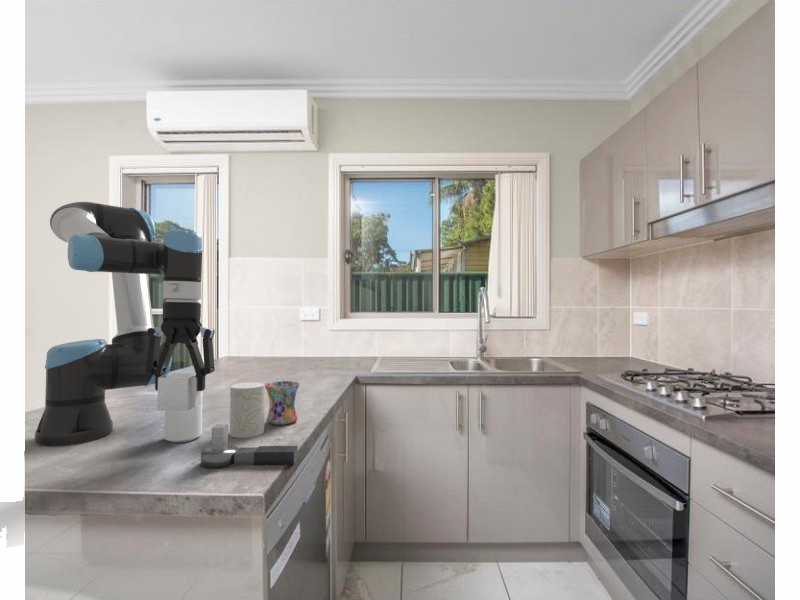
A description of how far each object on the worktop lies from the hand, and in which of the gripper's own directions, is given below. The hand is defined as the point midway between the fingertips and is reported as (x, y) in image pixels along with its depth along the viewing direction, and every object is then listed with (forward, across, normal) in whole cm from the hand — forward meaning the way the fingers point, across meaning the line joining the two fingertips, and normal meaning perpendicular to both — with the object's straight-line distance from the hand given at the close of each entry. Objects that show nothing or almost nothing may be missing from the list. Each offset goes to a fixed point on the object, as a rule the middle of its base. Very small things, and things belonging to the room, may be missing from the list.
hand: (180, 405), depth 93 cm
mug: (+11, +17, +24) cm, 31 cm away
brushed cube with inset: (0, 0, 0) cm, 0 cm away
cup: (+10, +11, +13) cm, 20 cm away
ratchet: (+10, +18, -7) cm, 21 cm away
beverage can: (+11, -3, +9) cm, 15 cm away
